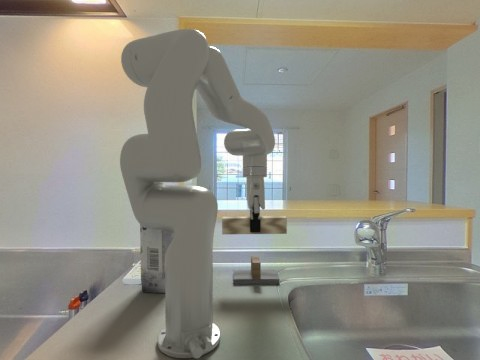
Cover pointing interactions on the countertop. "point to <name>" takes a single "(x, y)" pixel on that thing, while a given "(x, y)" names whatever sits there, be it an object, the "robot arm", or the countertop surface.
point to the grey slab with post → (255, 274)
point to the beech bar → (243, 225)
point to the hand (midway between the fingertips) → (254, 230)
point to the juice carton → (153, 258)
